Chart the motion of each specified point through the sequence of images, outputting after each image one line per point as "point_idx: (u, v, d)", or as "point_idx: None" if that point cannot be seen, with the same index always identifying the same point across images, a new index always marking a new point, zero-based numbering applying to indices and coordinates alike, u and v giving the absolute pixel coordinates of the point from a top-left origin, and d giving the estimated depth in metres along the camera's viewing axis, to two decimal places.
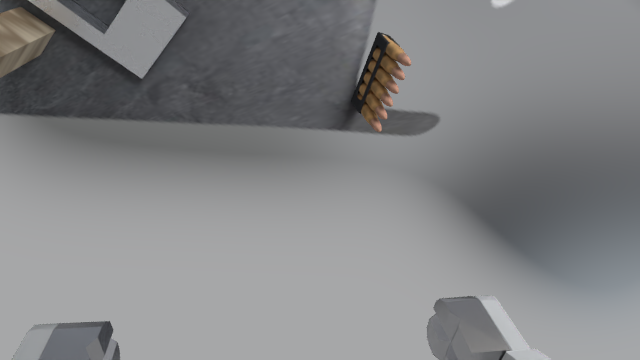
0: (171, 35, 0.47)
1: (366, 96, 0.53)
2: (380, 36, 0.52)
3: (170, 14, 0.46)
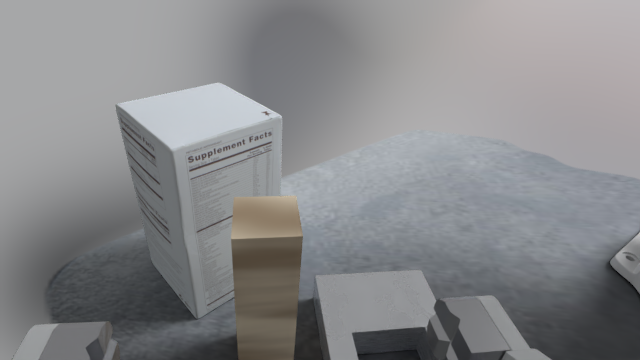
0: None
1: None
2: None
3: None
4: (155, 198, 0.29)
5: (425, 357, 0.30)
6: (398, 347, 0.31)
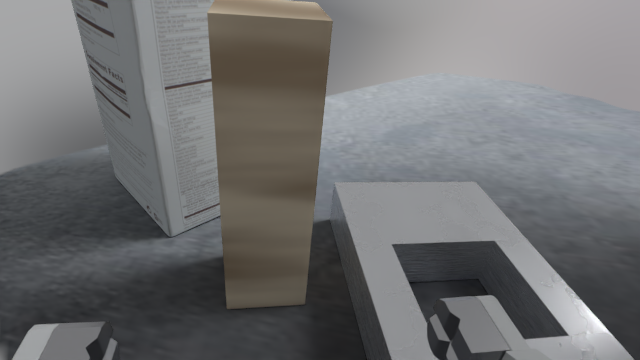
0: None
1: None
2: None
3: None
4: (105, 43, 0.20)
5: (495, 284, 0.21)
6: (454, 273, 0.22)
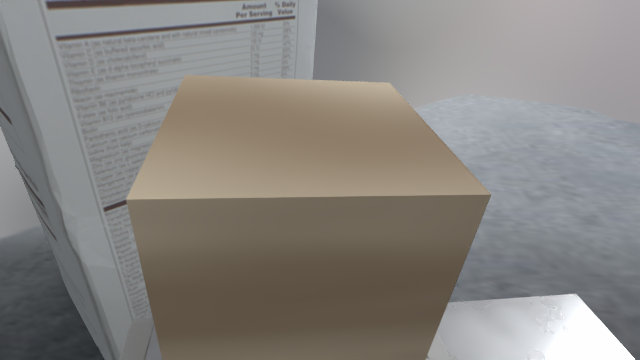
0: None
1: None
2: None
3: None
4: (6, 127, 0.12)
5: None
6: None
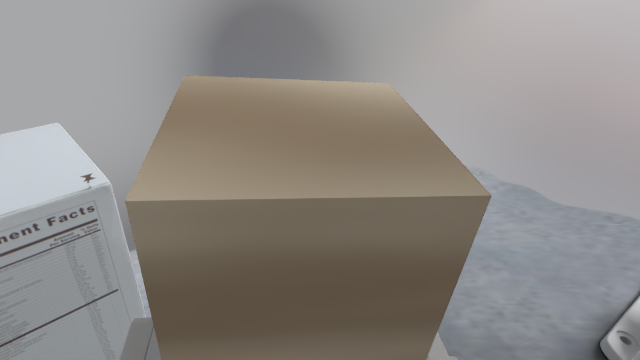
0: None
1: None
2: None
3: None
4: None
5: None
6: None
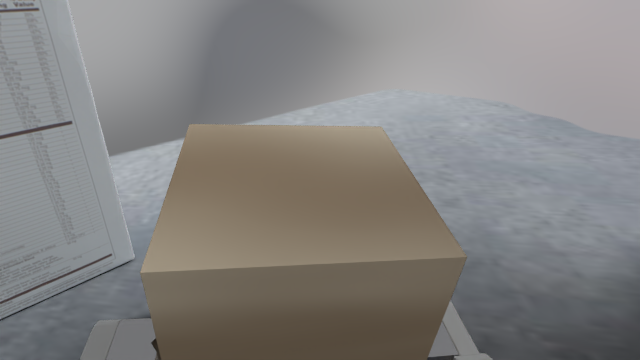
0: None
1: None
2: None
3: None
4: None
5: None
6: None
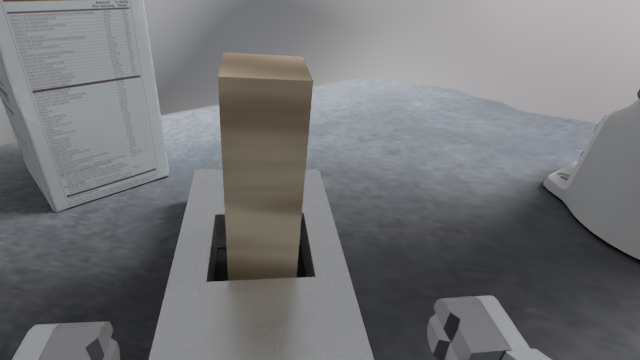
0: None
1: None
2: None
3: (349, 345, 0.18)
4: None
5: (303, 247, 0.27)
6: None
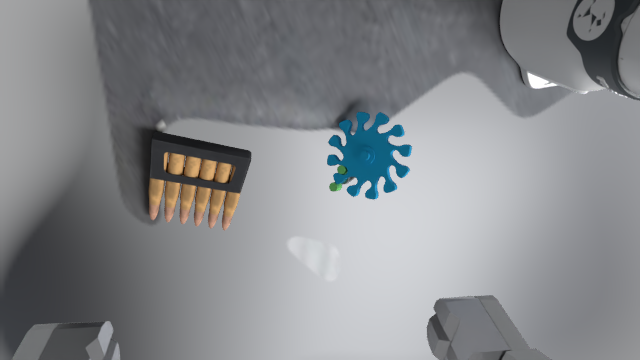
0: None
1: (173, 180, 0.44)
2: (245, 170, 0.44)
3: None
4: None
5: None
6: None
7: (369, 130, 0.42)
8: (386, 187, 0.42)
